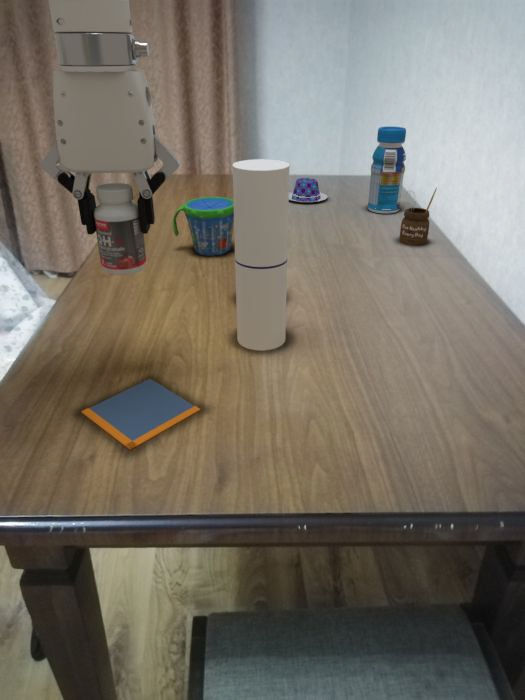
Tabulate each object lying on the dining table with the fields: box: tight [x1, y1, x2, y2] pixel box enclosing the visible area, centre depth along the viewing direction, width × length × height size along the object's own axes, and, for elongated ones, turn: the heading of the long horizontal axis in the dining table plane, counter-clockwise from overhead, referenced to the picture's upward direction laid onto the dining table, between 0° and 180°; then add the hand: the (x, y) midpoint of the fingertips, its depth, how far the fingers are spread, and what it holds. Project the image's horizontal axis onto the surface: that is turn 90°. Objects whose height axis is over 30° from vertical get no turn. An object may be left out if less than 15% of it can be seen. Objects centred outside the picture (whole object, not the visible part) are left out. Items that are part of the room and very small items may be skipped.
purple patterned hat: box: [289, 177, 328, 204], centre depth 149 cm, size 12×12×5 cm
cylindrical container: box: [232, 158, 290, 351], centre depth 74 cm, size 7×7×25 cm
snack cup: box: [172, 196, 234, 257], centre depth 111 cm, size 16×10×10 cm
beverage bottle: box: [367, 126, 407, 215], centre depth 136 cm, size 8×8×20 cm
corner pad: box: [81, 378, 202, 452], centre depth 64 cm, size 10×10×1 cm
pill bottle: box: [94, 182, 147, 276], centre depth 63 cm, size 5×5×10 cm
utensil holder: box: [399, 186, 438, 247], centre depth 115 cm, size 6×6×12 cm
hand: (119, 229), depth 63 cm, fingers closed on pill bottle, 5 cm apart
